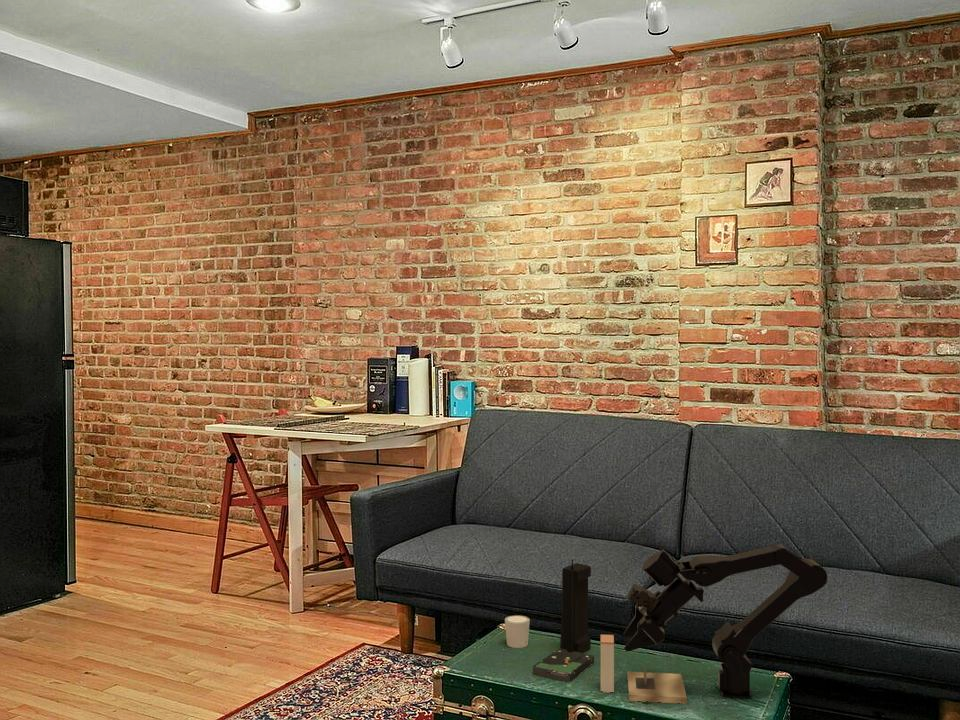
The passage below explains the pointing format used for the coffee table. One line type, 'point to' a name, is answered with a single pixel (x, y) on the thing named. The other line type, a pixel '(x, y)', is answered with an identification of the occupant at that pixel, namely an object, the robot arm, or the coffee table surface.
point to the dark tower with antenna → (575, 608)
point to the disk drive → (563, 665)
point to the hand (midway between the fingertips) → (624, 643)
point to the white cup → (517, 631)
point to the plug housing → (607, 663)
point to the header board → (656, 687)
